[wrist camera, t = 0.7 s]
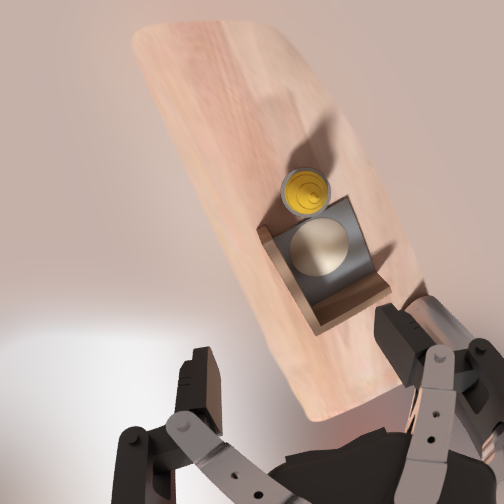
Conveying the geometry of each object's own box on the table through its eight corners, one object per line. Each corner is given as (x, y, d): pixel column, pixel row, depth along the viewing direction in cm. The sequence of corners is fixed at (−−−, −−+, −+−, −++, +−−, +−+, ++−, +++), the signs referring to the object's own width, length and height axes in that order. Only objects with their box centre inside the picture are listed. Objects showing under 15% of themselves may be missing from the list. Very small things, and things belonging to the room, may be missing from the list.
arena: (375, 275, 39) (391, 292, 34) (306, 314, 40) (315, 336, 36) (340, 183, 33) (358, 191, 29) (256, 229, 34) (262, 245, 30)
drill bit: (303, 222, 34) (317, 241, 24) (270, 191, 33) (271, 198, 24) (333, 190, 33) (358, 196, 23) (300, 158, 32) (314, 152, 22)
